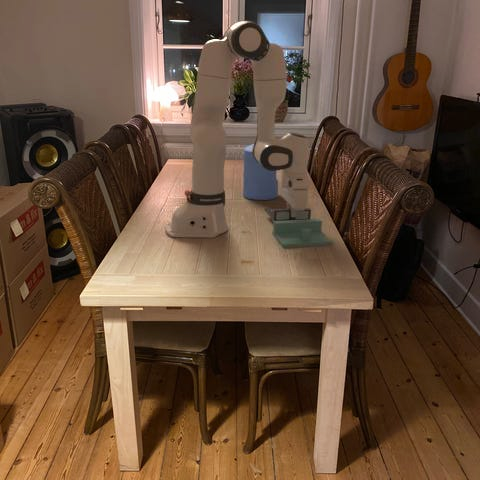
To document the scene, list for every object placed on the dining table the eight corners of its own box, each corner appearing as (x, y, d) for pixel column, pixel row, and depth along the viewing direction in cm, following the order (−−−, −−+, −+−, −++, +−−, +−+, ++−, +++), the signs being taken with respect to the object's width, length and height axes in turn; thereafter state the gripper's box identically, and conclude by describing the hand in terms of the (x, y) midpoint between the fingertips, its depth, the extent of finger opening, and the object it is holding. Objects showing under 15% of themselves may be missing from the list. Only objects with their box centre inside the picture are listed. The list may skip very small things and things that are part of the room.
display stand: (283, 247, 167) (283, 233, 165) (272, 233, 180) (272, 220, 178) (331, 244, 171) (332, 230, 169) (317, 231, 183) (318, 218, 181)
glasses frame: (273, 221, 185) (274, 210, 184) (265, 210, 197) (265, 200, 196) (310, 220, 188) (311, 209, 187) (299, 209, 200) (300, 199, 199)
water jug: (258, 203, 215) (260, 136, 204) (235, 194, 226) (236, 131, 216) (285, 197, 224) (288, 133, 214) (261, 189, 235) (263, 128, 225)
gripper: (278, 172, 191) (275, 207, 196) (294, 186, 172) (291, 224, 177) (294, 171, 192) (291, 206, 197) (311, 185, 174) (308, 223, 179)
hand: (291, 215), depth 187 cm, fingers closed on glasses frame, 2 cm apart
